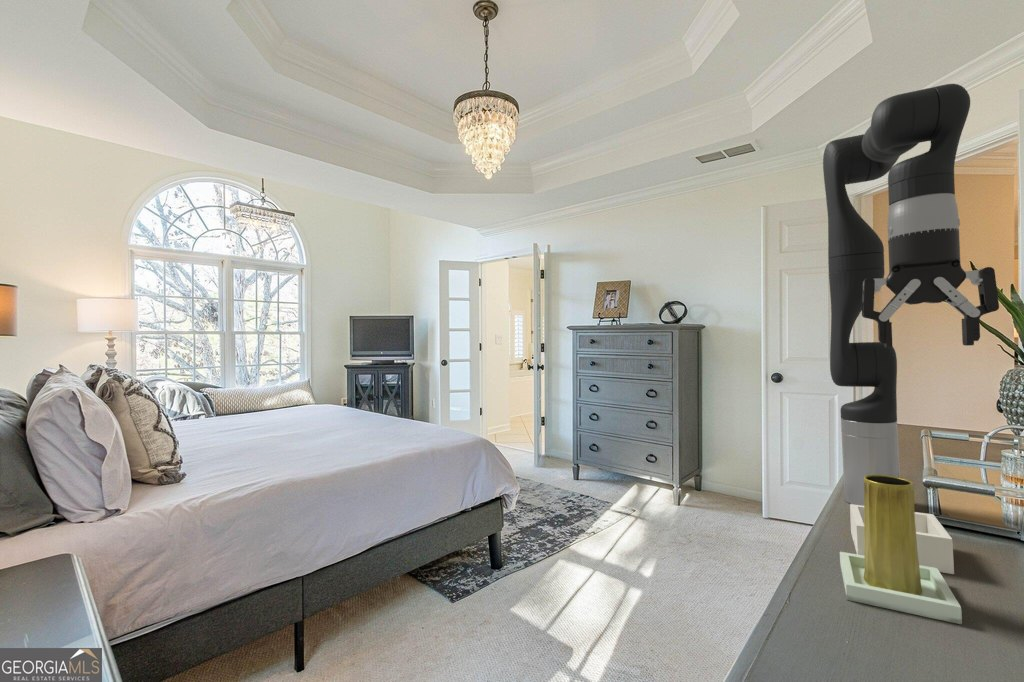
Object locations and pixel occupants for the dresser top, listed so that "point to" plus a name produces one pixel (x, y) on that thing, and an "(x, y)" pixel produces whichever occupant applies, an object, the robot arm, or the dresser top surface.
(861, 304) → the robot arm
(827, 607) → the dresser top surface
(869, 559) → the vase
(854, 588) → the tray
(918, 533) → the sleeve
